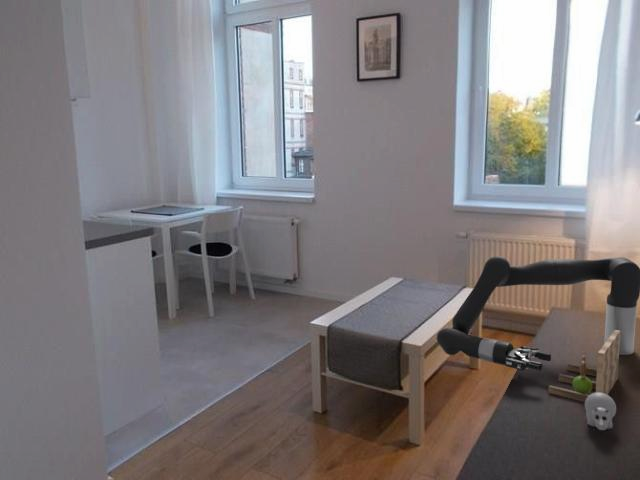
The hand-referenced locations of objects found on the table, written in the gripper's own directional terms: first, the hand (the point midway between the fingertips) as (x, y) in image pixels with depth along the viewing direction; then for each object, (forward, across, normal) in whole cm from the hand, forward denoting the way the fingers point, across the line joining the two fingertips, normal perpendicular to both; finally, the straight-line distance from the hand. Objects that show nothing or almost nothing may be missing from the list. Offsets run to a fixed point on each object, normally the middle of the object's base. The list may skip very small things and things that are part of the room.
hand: (546, 362), depth 171 cm
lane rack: (+9, +5, +7) cm, 13 cm away
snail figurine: (+11, 0, +7) cm, 13 cm away
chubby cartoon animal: (+20, -19, +7) cm, 28 cm away
